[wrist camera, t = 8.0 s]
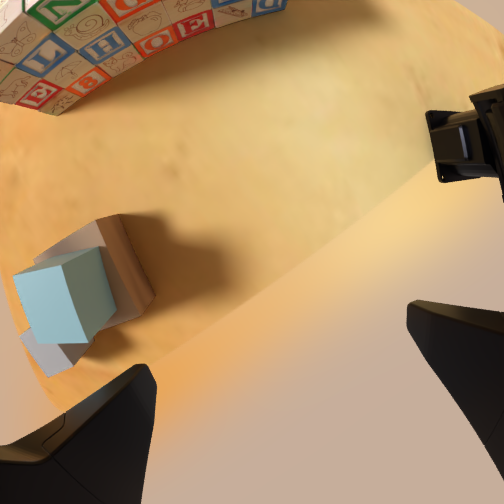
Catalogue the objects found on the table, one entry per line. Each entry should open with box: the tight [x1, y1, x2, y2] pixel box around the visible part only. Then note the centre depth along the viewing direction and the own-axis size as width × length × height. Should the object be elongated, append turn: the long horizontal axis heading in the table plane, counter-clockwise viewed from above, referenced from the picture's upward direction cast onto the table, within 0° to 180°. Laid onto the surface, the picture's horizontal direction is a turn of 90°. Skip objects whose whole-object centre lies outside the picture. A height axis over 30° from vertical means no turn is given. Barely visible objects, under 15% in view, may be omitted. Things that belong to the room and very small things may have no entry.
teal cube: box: [13, 246, 117, 344], centre depth 14 cm, size 4×4×4 cm
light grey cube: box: [19, 327, 95, 377], centre depth 19 cm, size 4×4×4 cm
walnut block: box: [33, 214, 156, 331], centre depth 19 cm, size 7×7×4 cm
